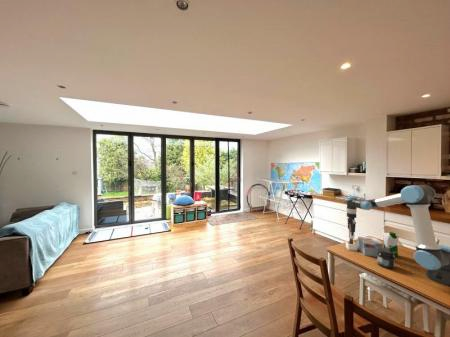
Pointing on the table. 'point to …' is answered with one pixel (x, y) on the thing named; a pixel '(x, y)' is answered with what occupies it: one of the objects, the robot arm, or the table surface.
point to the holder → (351, 246)
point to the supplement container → (386, 258)
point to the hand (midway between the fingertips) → (351, 237)
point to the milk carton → (391, 242)
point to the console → (369, 250)
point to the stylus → (349, 237)
